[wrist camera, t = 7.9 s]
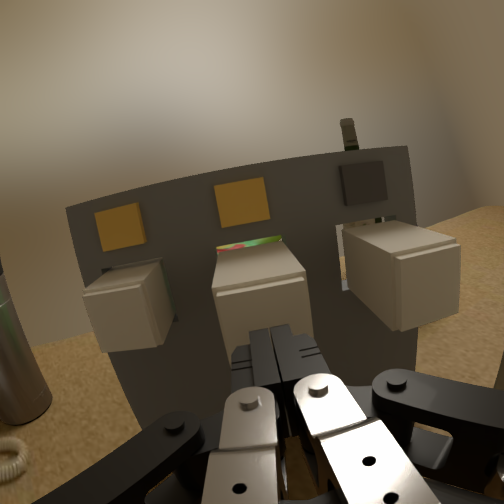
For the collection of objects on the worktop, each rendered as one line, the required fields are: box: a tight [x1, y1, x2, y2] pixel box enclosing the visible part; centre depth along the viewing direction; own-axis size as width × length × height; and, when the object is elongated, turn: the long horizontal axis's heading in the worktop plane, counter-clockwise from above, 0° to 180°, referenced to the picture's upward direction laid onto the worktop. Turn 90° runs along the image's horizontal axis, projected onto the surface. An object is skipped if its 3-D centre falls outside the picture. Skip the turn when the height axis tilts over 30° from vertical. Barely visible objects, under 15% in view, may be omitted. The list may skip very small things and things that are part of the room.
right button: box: [342, 220, 461, 332], centre depth 17 cm, size 4×8×4 cm, turn 3°
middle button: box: [212, 241, 314, 367], centre depth 17 cm, size 4×8×4 cm, turn 3°
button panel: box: [66, 146, 418, 436], centre depth 23 cm, size 24×3×22 cm, turn 93°
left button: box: [83, 257, 176, 353], centre depth 20 cm, size 4×8×4 cm, turn 3°
